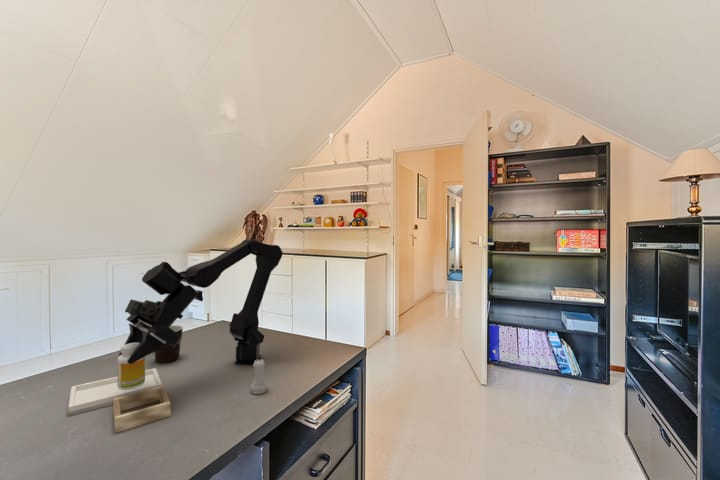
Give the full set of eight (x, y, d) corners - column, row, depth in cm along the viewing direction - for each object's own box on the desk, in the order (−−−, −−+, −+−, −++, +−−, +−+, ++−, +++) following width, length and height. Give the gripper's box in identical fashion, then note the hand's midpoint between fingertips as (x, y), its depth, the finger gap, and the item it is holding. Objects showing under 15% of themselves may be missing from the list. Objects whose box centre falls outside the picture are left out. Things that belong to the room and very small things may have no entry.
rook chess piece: (270, 388, 85) (271, 359, 85) (260, 396, 81) (261, 365, 81) (257, 385, 87) (257, 356, 86) (246, 393, 82) (246, 362, 82)
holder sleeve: (163, 397, 79) (163, 385, 79) (170, 415, 72) (170, 402, 71) (113, 411, 73) (113, 398, 73) (114, 433, 65) (114, 418, 65)
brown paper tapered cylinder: (172, 365, 98) (172, 334, 97) (144, 365, 98) (145, 333, 97) (192, 351, 109) (193, 323, 109) (168, 350, 109) (168, 322, 109)
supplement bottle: (150, 382, 77) (149, 343, 77) (126, 392, 72) (125, 351, 72) (136, 378, 80) (136, 340, 79) (112, 387, 75) (112, 347, 74)
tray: (155, 374, 91) (155, 368, 91) (161, 391, 82) (162, 384, 82) (71, 394, 80) (71, 386, 80) (68, 416, 71) (68, 407, 71)
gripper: (135, 282, 84) (82, 334, 75) (165, 291, 73) (107, 353, 64) (167, 306, 91) (122, 356, 82) (199, 317, 79) (150, 376, 71)
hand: (124, 359), depth 75 cm, fingers closed on supplement bottle, 5 cm apart
